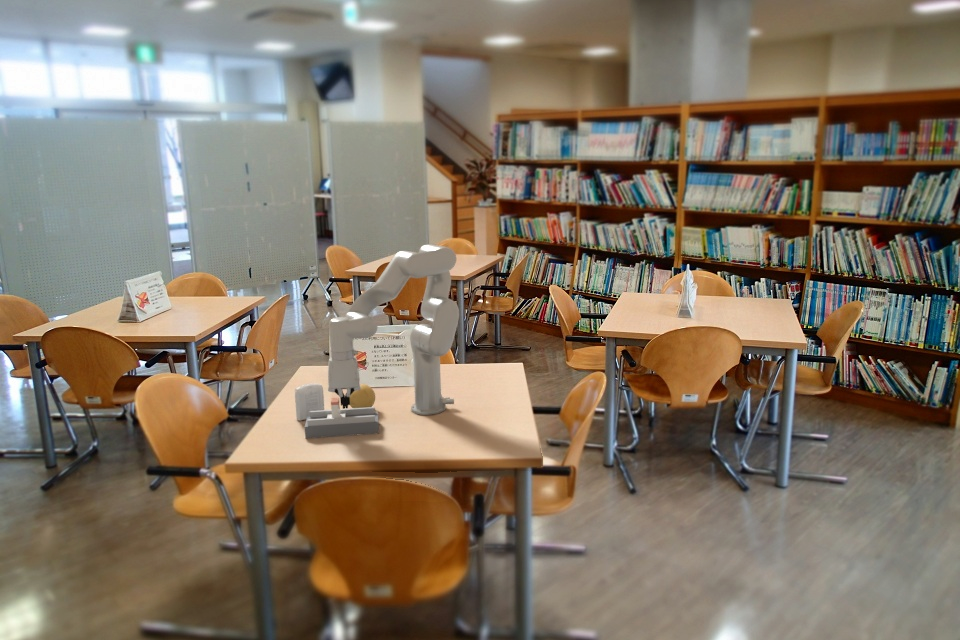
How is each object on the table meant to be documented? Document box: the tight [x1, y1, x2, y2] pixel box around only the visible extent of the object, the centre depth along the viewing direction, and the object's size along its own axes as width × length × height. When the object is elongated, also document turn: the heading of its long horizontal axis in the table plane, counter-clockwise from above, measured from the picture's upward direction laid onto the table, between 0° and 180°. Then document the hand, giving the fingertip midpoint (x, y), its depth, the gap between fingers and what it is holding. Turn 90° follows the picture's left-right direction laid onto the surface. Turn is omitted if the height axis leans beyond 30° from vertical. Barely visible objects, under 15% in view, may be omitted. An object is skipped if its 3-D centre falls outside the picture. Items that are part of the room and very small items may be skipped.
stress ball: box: [349, 383, 376, 408], centre depth 262 cm, size 10×10×10 cm
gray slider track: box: [304, 406, 380, 439], centre depth 245 cm, size 24×10×6 cm, turn 98°
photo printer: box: [294, 382, 325, 421], centre depth 257 cm, size 10×4×12 cm, turn 123°
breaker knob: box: [327, 397, 346, 418], centre depth 244 cm, size 6×6×7 cm
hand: (345, 407), depth 244 cm, fingers closed
